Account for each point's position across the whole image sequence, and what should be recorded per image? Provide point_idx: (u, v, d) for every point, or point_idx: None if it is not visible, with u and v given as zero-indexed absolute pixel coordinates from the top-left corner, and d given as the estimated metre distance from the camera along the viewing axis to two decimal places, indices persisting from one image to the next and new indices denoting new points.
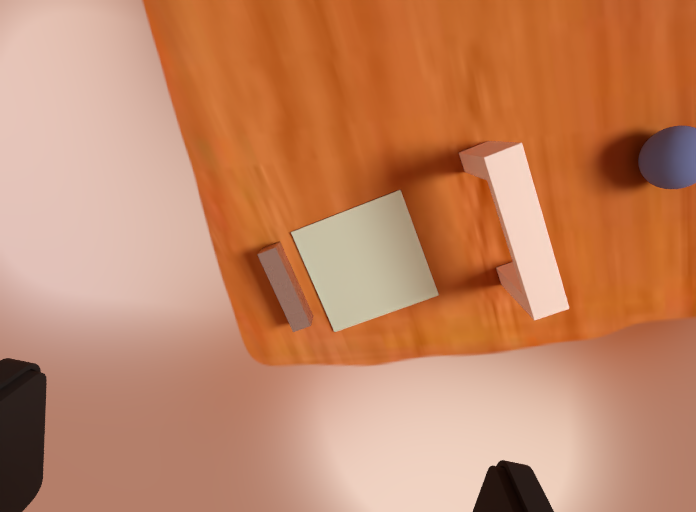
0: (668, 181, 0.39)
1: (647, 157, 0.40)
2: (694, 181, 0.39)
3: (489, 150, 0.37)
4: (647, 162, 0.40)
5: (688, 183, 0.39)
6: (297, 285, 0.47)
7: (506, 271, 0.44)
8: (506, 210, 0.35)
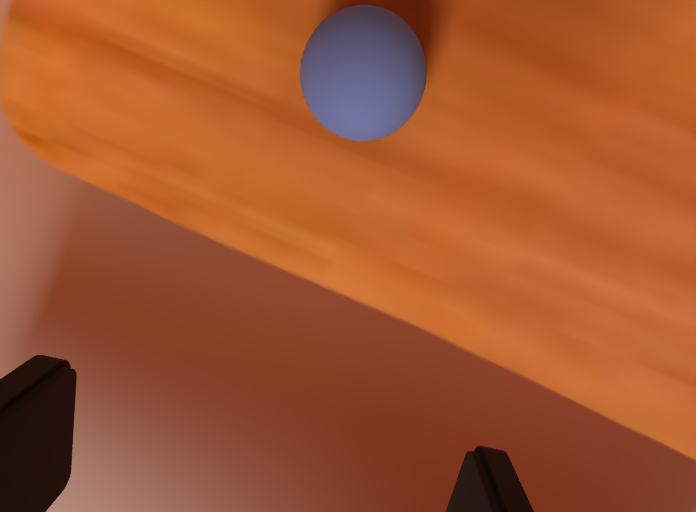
0: (340, 15, 0.18)
1: None
2: (312, 60, 0.18)
3: None
4: None
5: (315, 47, 0.18)
6: None
7: None
8: None
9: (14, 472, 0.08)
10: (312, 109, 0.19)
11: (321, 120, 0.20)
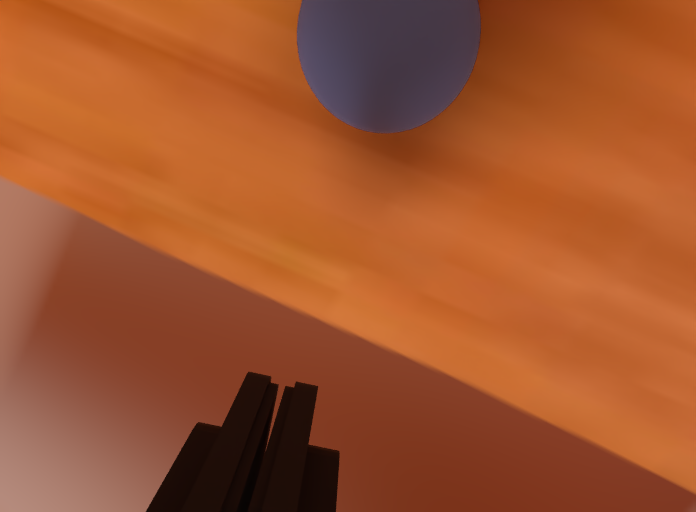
0: None
1: None
2: (314, 11, 0.12)
3: None
4: None
5: None
6: None
7: None
8: None
9: (254, 477, 0.09)
10: (314, 87, 0.13)
11: (327, 103, 0.14)
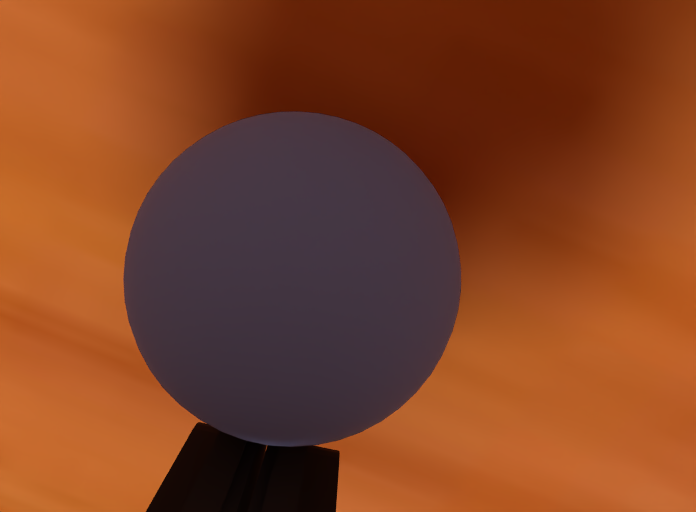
0: (244, 119, 0.07)
1: None
2: (147, 208, 0.06)
3: None
4: None
5: (161, 179, 0.06)
6: None
7: None
8: None
9: (254, 477, 0.09)
10: (138, 347, 0.07)
11: (160, 381, 0.06)
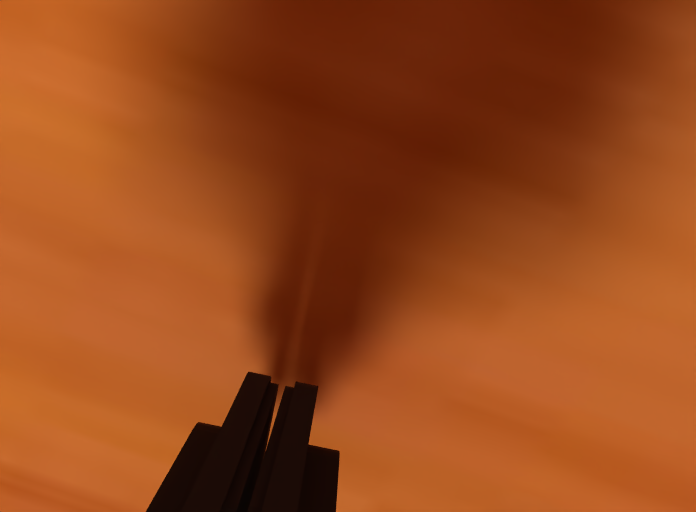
0: None
1: None
2: None
3: None
4: None
5: None
6: None
7: None
8: None
9: (254, 477, 0.09)
10: None
11: None
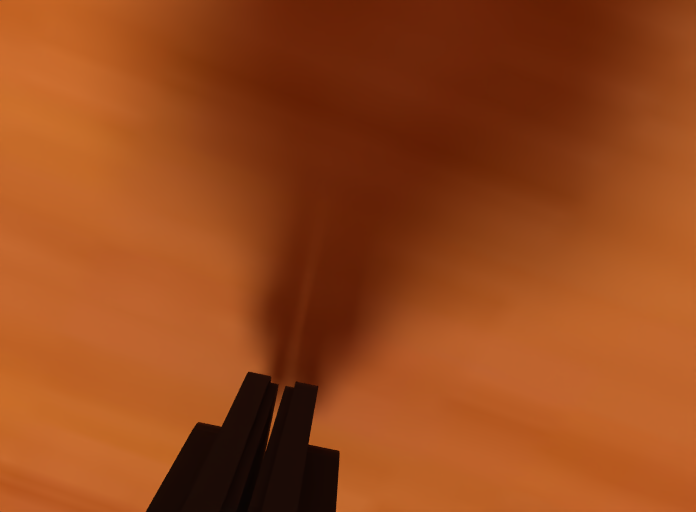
0: None
1: None
2: None
3: None
4: None
5: None
6: None
7: None
8: None
9: (254, 477, 0.09)
10: None
11: None
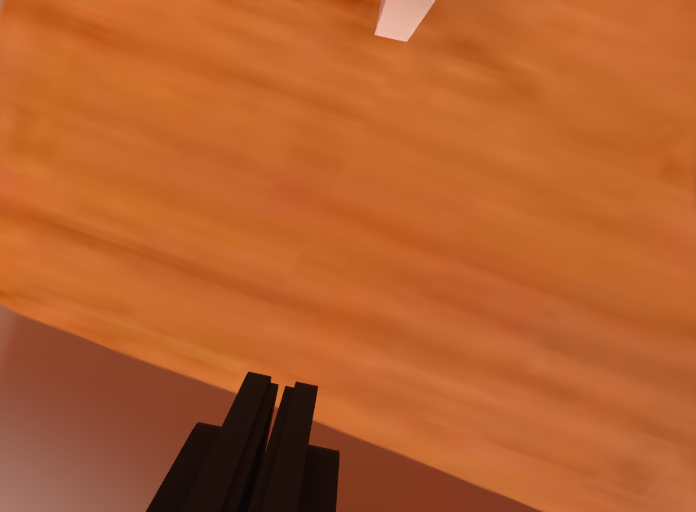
0: None
1: None
2: None
3: None
4: None
5: None
6: None
7: None
8: None
9: (254, 477, 0.09)
10: None
11: None
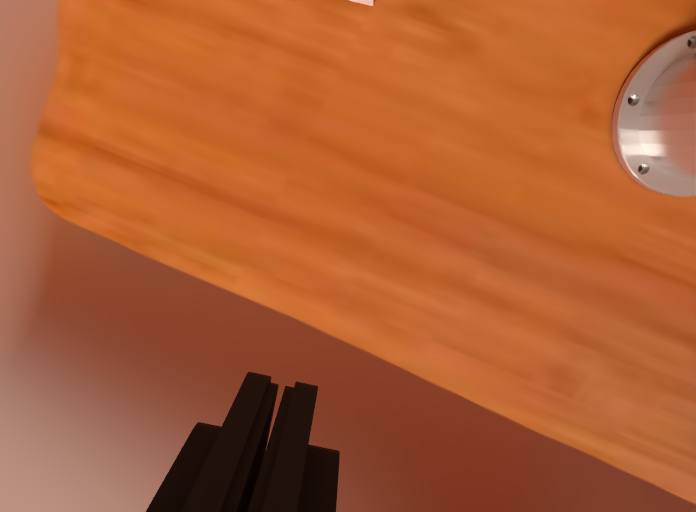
0: None
1: None
2: None
3: None
4: None
5: None
6: None
7: None
8: None
9: (254, 477, 0.09)
10: None
11: None
